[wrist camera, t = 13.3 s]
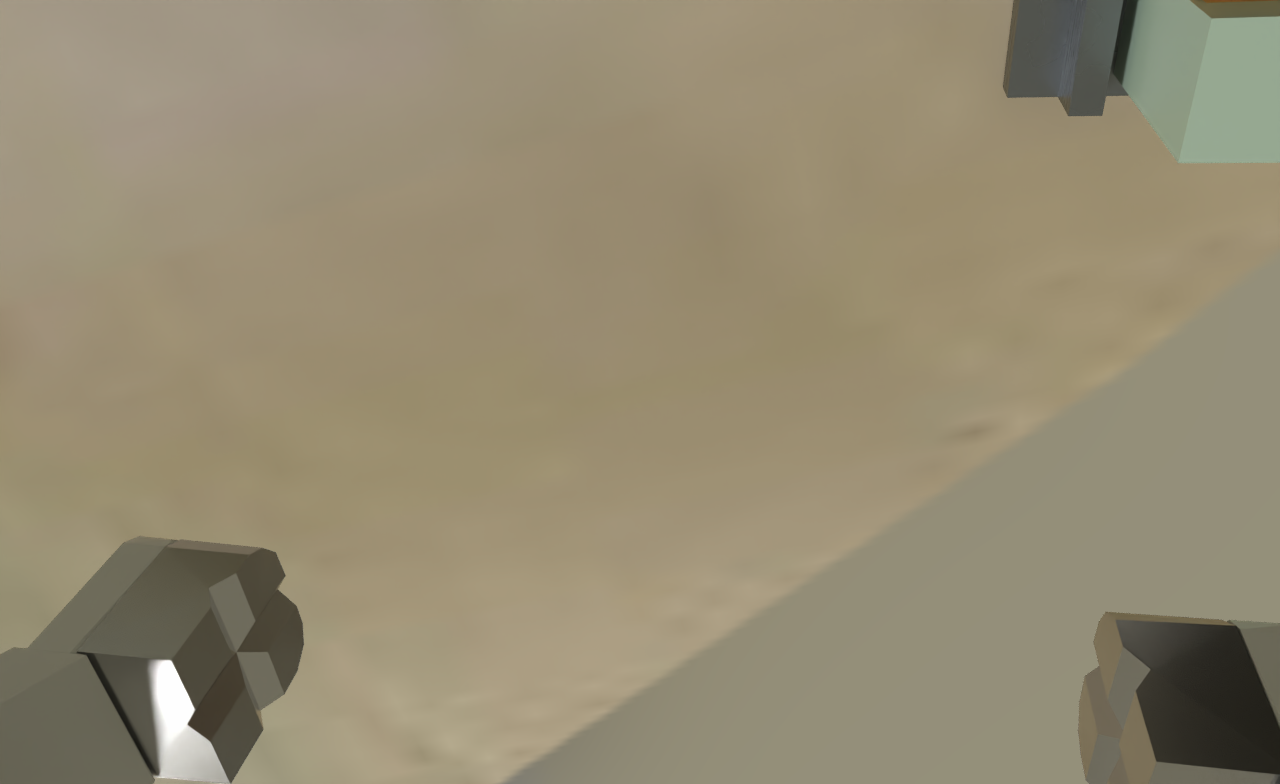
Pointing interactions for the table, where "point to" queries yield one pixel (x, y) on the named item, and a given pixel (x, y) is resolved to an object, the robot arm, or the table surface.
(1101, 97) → the rail
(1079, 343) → the table surface
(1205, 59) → the green and orange block
